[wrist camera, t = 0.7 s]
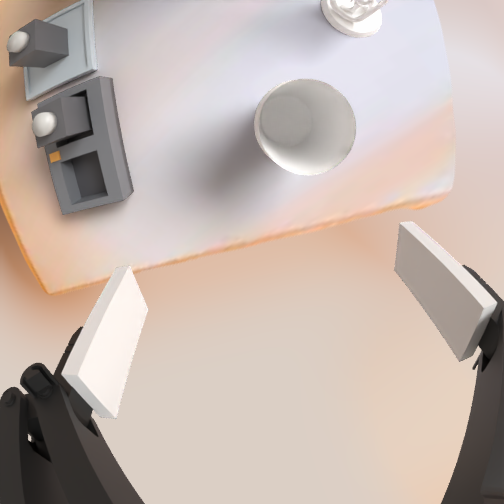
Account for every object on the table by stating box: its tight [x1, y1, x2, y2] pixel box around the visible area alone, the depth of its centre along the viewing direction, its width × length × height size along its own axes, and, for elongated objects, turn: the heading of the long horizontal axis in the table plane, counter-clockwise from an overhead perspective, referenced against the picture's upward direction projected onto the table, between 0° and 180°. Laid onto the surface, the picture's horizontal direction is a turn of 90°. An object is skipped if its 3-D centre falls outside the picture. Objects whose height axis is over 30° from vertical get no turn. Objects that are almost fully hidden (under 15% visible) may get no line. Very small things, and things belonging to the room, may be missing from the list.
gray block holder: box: [31, 76, 134, 215], centre depth 28 cm, size 16×10×10 cm, turn 7°
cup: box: [254, 79, 356, 175], centre depth 28 cm, size 9×9×12 cm
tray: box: [24, 0, 98, 101], centre depth 24 cm, size 12×12×2 cm
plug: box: [7, 19, 69, 68], centre depth 20 cm, size 4×4×10 cm
